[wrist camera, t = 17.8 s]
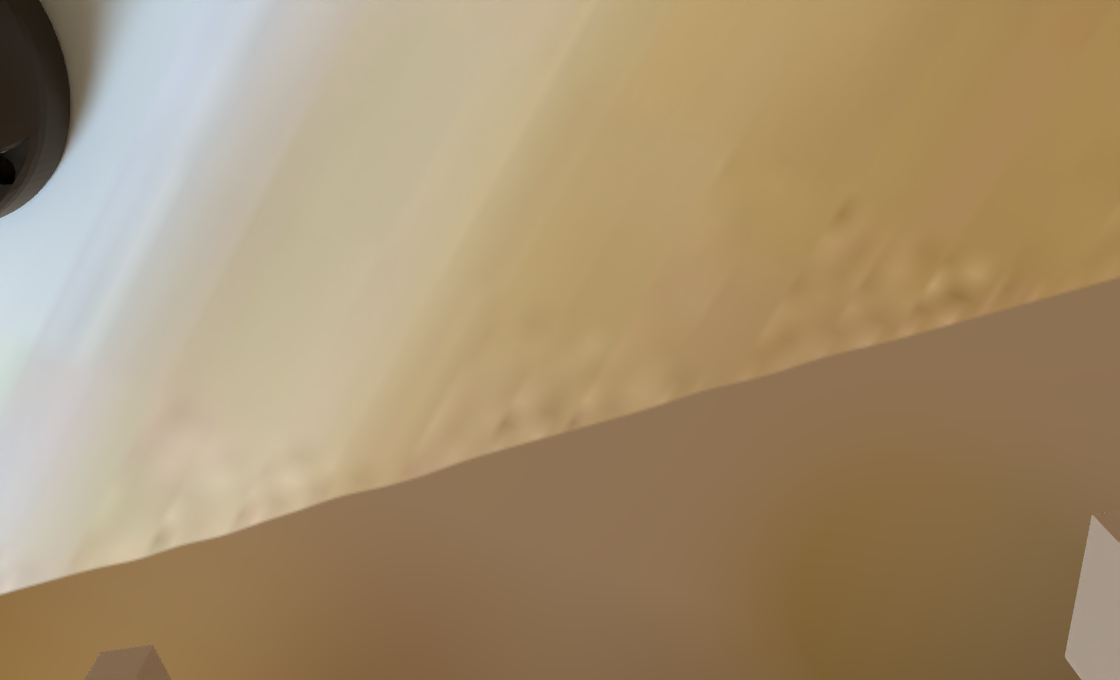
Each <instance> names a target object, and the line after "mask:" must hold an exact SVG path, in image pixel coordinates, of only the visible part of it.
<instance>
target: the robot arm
mask: <svg viewBox="0 0 1120 680" xmlns="http://www.w3.org/2000/svg"><path fill="white" fill-rule="evenodd" d="M69 118H70V92H69V83H68V76H67V71H66V66H65V62H64V58H63V54H62V51H61V48H60V45H59V42H58V39H57V37H56V34H55V32H54V29H53V27H52V25H51V22H50V20H49V18H48V16H47V14H46V12H45V10H44V9H43V7H42V5H41V3H40V1H39V0H0V218H1V217H3V216H6V215H8V214H10V213H12V212H14V211H15V210H17V209H18V208H20V207H21V206H23V205H24V204H25V203H27V202H28V201H29V200H31V199H32V198H33V197H34V196H35V195H36V194H37V193H38V192H39V191H40V190H41V189H42V187H43V186H44V185H45V184H46V182H47V181H48V180H49V178H50V177H51V175H52V173H53V172H54V170H55V168H56V166H57V164H58V162H59V160H60V157H61V155H62V152H63V149H64V146H65V142H66V138H67V133H68V128H69ZM1065 658H1066V659H1067V661H1068V662H1069V663H1070V665H1071V666H1072V667H1073V669H1074V670H1075V671H1076V673H1077V674H1078V675H1079V677H1080V678H1081V680H1120V511H1114V512H1107V513H1100V514H1093V515H1092V518H1091V523H1090V529H1089V534H1088V539H1087V544H1086V549H1085V554H1084V560H1083V565H1082V570H1081V576H1080V580H1079V586H1078V591H1077V596H1076V602H1075V606H1074V612H1073V617H1072V622H1071V627H1070V632H1069V638H1068V643H1067V648H1066V653H1065ZM85 680H171V678H170V676H169V674H168V673H167V670H166V669H165V667H164V665H163V663H162V661H161V659H160V657H159V655H158V653H157V652H156V650H155V648H154V646H153V645H149V646H142V647H135V648H128V649H121V650H113V651H106V652H101V653H100V654H99V656H98V658H97V659H96V661H95V663H94V664H93V666H92V668H91V670H90V671H89V673H88V675H87V676H86V678H85Z"/></svg>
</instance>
